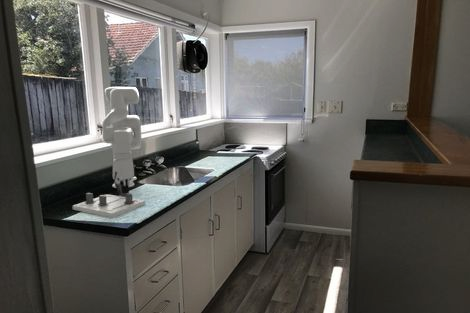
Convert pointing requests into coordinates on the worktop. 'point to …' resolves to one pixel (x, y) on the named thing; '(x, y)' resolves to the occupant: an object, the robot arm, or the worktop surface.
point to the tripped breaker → (128, 198)
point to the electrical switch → (119, 189)
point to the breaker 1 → (89, 198)
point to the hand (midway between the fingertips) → (125, 192)
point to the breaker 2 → (102, 200)
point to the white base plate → (109, 206)
